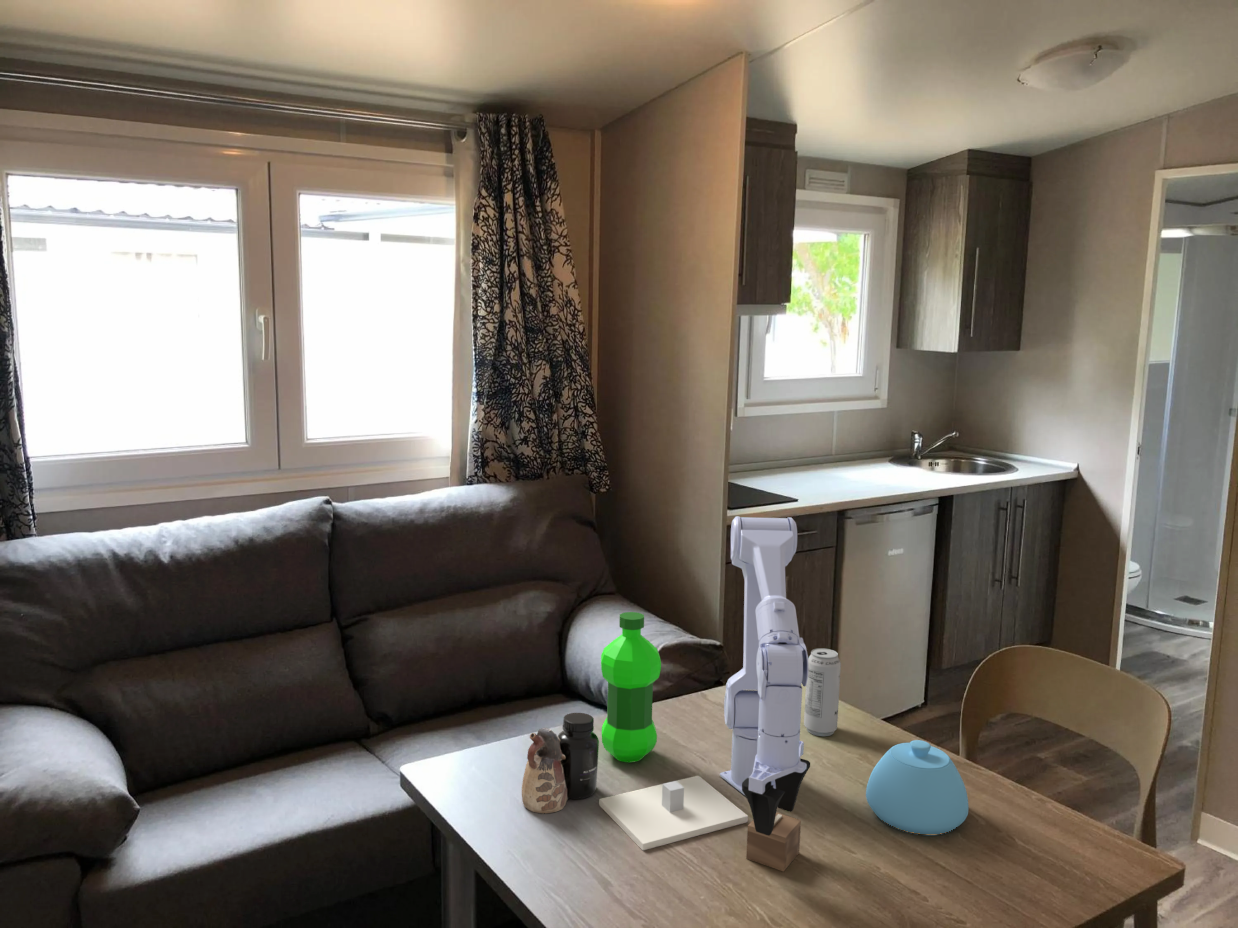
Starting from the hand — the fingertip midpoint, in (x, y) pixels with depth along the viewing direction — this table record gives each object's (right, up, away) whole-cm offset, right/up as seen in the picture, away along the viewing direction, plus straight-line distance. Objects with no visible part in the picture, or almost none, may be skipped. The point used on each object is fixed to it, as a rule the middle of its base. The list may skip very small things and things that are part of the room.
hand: (774, 820), depth 131 cm
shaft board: (-14, -3, +12) cm, 18 cm away
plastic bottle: (-20, -1, +31) cm, 37 cm away
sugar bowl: (+24, -4, +13) cm, 28 cm away
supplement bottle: (-29, -2, +18) cm, 34 cm away
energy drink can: (+15, 0, +42) cm, 45 cm away
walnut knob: (0, -5, +1) cm, 5 cm away
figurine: (-33, -3, +14) cm, 36 cm away
